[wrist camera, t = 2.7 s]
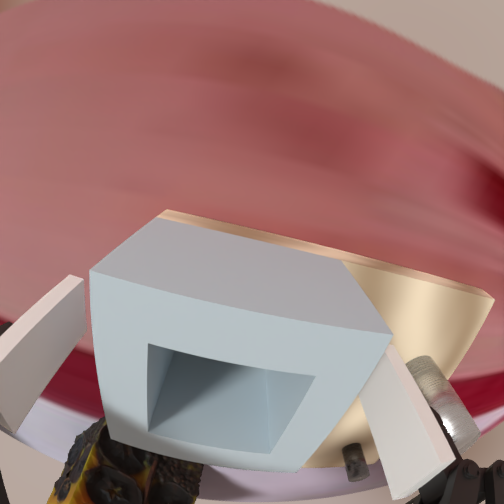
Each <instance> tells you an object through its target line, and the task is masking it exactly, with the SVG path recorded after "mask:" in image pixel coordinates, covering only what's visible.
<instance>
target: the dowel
mask: <svg viewBox="0 0 504 504" xmlns="http://www.w3.org/2000/svg"><path fill="white" fill-rule="evenodd" d="M342 454H343V459H344V463H345V467H346V471H347V476H348V480H349V482H356V481H360V480H363V479H365V478H367V477H368V476H369V475H370V473H369V470H368V466H367V463H366V460H365V456H364V453H363V449H362V446H361V444H360V443H352V444H349V445H346V446H345V447H343V448H342Z"/></svg>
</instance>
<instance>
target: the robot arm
mask: <svg viewBox="0 0 504 504" xmlns="http://www.w3.org/2000/svg"><path fill="white" fill-rule="evenodd" d="M86 331H87V324H86V311H85V295H84V279H82V278H79V277H76V276H73V275H69V276H67V277H66V278H65V279H64V280H63V281H61V282H60V283H59V284H58V285H56V286H55V287H54V288H53V289H52V290H51V291H49V292H48V293H47V294H46V295H45V296H44V297H42V298H41V299H40V300H39V301H38V302H37V303H36V304H34V305H33V306H32V307H31V308H30V309H29V310H28V311H27V312H26V313H25V314H23V315H22V316H21V317H20V318H19V319H18V320H17V321H16V322H15V323H14V324H13V323H11V322H7V323H5V324H3V325H1V326H0V425H1V426H3V427H4V428H6V429H7V430H9V431H10V432H11V433H13V434H14V435H15V433H16V432H17V430H18V429H19V427H20V425H21V424H22V422H23V420H24V419H25V417H26V416H27V414H28V413H29V411H30V410H31V408H32V406H33V405H34V403H35V402H36V400H37V399H38V397H39V396H40V394H41V393H42V391H43V390H44V389H45V387H46V386H47V384H48V383H49V381H50V380H51V378H52V377H53V376H54V374H55V373H56V371H57V370H58V369H59V367H60V366H61V365H62V363H63V362H64V360H65V359H66V358H67V356H68V355H69V354H70V352H71V351H72V350H73V348H74V347H75V346H76V344H77V343H78V342H79V340H80V339H81V338H82V337H83V335H84V334H85V333H86ZM358 396H359V399H360V401H361V404H362V407H363V410H364V413H365V415H366V418H367V421H368V424H369V427H370V430H371V433H372V436H373V439H374V442H375V445H376V448H377V451H378V454H379V457H380V460H381V463H382V466H383V469H384V473H385V476H386V479H387V482H388V486H389V489H390V492H391V496H392V499H393V500H397V499H401V498H405V497H408V496H410V495H411V494H412V493H414V492H415V491H417V490H419V493H420V494H419V495H418V496H416V497H415V498H413V499H412V500H410V501H409V502H407V503H406V504H412V503H413V504H479V503H481V502H482V501H484V500H485V502H486V503H485V504H504V461H502V460H497V461H496V462H494V463H493V464H492V465H491V466H490V467H489V468H479V467H478V465H477V464H476V463H475V462H474V461H472V460H469V459H465V460H463V459H462V457H461V455H460V453H459V451H458V449H457V447H456V445H455V443H454V441H453V439H452V438H451V436H450V434H449V433H448V430H447V428H446V426H444V422H443V421H442V419H441V417H440V415H439V414H438V413H437V412H436V411H435V410H434V409H433V408H432V407H431V406H430V407H429V405H428V403H427V402H426V400H425V398H424V396H423V394H422V393H421V391H420V389H419V387H418V386H417V384H416V382H415V380H414V379H413V377H412V375H411V373H410V372H409V370H408V368H407V367H406V365H405V363H404V362H403V360H402V358H401V357H400V355H399V353H398V352H397V350H396V348H395V347H394V345H390V344H388V346H387V348H386V350H385V351H384V353H383V355H382V357H381V358H380V360H379V362H378V363H377V365H376V367H375V368H374V370H373V372H372V373H371V375H370V376H369V378H368V380H367V381H366V383H365V384H364V386H363V387H362V389H361V390H360V392H359V393H358ZM0 504H10V503H9V500H8V497H7V493H6V490H5V486H4V483H3V479H2V475H1V471H0Z"/></svg>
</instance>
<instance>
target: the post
mask: <svg viewBox="0 0 504 504" xmlns="http://www.w3.org/2000/svg"><path fill="white" fill-rule="evenodd" d="M405 365H406V367H407V368H408V370H409V372H410V373H411V375H412V377H413V379H414V380H415V382H416V384H417V386H418V387H419V389H420V391H421V393H422V394H423V396H424V398H425V400H426V402H427V403H428V405H429V407H430V406H431V407H432V408H433V409H434V410H435V411H436V412H437V413H438V414H439V415H440V417H441V419H442V421H443V422H444V426H446V428H447V430H448V433H449V434H450V436H451V438H452V439H453V441H454V443H455V445H456V447H457V449H458V451H459V453H460V455H461V454H463V453H464V452H465V451H466V450H468V449H469V448H470V447H471V446H472V445H473V444H474V443H475V442H476V441H477V440H478V438H479V437H480V434H481V432H480V430H479V429H478V427H477V425H476V424H475V422H474V420H473V419H472V417H471V416H470V414H469V412H468V411H467V409H466V408H465V406H464V404H463V403H462V401H461V400H460V398H459V397H458V395H457V394H456V392H455V390H454V389H453V387H452V386H451V384H450V383H449V381H448V380H447V379H446V377H445V376H444V374H443V373H442V371H441V370H440V368H439V367H438V366H437V364H436V363H435V361H434V360H433V358H432V357H430V356H427V355H423V356H419V357H416V358H414V359H412V360H410V361H409V362H407V363H406V364H405Z"/></svg>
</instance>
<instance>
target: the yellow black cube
mask: <svg viewBox="0 0 504 504" xmlns="http://www.w3.org/2000/svg"><path fill="white" fill-rule="evenodd" d="M203 466H204V464H202V463H197V462H191V461H187V460H182V459H178V458H173V457H169V456H165V455H161V454H157V453H154V452H150V451H147V450H143V449H140V448H137V447H133V446H130V445H127V444H124V443H121V442H118V441H116V440H113V439H111V438H110V434H109V430H108V426H107V422H106V417H103V418H100V420H99V421H98V422H96V423H93V424H92V425H91V426H90V428H88V429H87V430H86V431H83V433H82V434H80V435H78V436H76V439H75V444H74V445H73V446H72V448H71V449H70V451H69V453H68V460H67V461H66V462H65V468H64V469H63V471H62V474H61V477H60V478H59V480H57V481H56V482H55V485H54V488H53V491H52V493H51V495H50V497H49V499H48V501H47V504H194V503H195V501H196V497H197V496H198V495H199V486H200V485H199V484H198V483H199V482H200V481H201V480H200V477H201V475H202V470H203Z"/></svg>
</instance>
